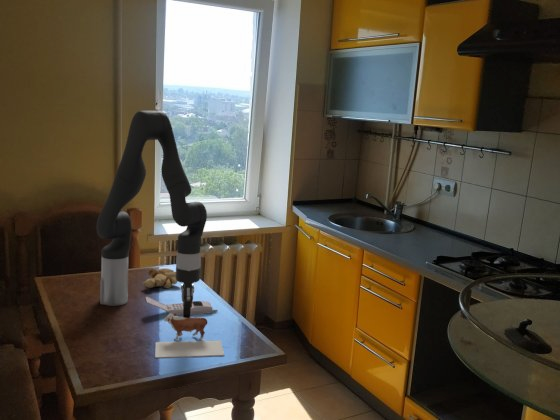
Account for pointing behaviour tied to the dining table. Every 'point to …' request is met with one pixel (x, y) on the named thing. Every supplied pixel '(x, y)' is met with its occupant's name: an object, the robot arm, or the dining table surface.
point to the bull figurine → (186, 324)
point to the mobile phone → (196, 308)
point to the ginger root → (161, 278)
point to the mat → (188, 349)
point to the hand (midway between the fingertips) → (186, 317)
